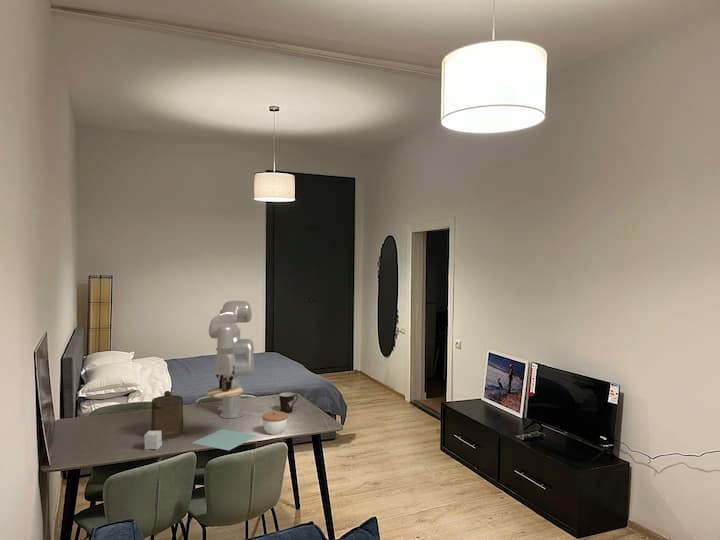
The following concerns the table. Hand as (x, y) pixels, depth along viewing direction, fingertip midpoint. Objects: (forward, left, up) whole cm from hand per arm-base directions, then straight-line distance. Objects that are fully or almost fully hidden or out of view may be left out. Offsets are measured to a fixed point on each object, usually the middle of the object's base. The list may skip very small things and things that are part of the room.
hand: (225, 388), depth 258 cm
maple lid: (0, 0, -2) cm, 2 cm away
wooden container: (-30, -7, -25) cm, 40 cm away
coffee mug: (+3, +53, -25) cm, 59 cm away
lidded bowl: (+16, +19, -25) cm, 35 cm away
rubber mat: (0, 0, -25) cm, 25 cm away
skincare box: (-23, -23, -25) cm, 41 cm away
